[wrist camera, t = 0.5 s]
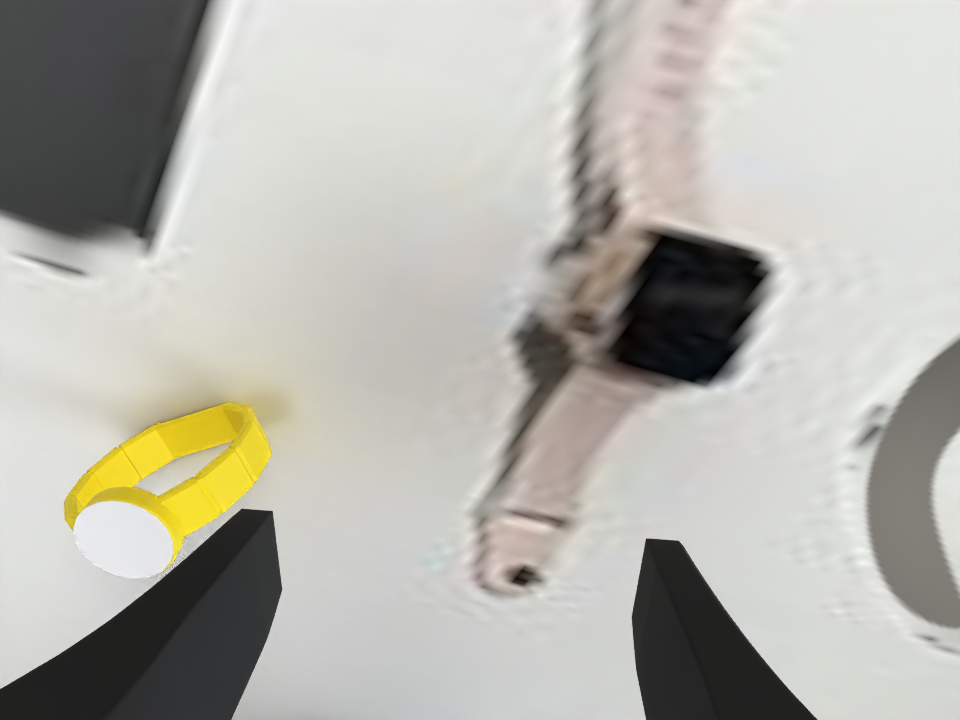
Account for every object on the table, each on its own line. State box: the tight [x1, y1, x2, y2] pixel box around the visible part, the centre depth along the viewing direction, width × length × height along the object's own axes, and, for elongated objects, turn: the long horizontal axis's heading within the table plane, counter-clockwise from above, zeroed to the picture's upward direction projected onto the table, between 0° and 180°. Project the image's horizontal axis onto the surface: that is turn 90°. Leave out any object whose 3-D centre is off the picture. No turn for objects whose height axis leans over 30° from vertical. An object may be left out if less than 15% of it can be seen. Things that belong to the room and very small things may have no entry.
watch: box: [64, 402, 271, 579], centre depth 22 cm, size 6×3×6 cm, turn 109°
